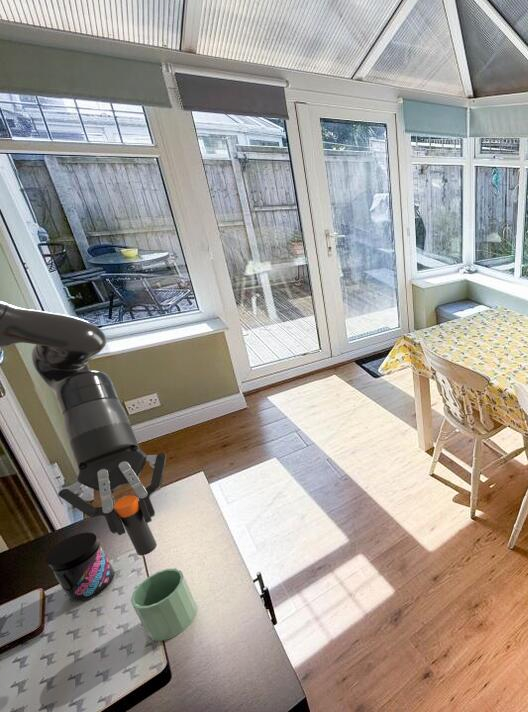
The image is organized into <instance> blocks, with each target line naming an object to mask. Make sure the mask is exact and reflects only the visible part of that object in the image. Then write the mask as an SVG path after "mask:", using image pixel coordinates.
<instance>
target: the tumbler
mask: <svg viewBox="0 0 528 712" xmlns="http://www.w3.org/2000/svg"><path fill="white" fill-rule="evenodd" d="M130 603H131V606H132V608H133V609H134V611H135V613H136V615H137V617H138V619H139V621H140V623H141V624H142V626H143V628H144V630H145V632H146V634H147V636H148V637H149V638H150V639H151V640H152V641H155V642H163V641H168V640H170V639H173V638H174V637H176V636H178V635H180V634H181V633H182V632H184V631H185V630H186V629H187V628H188V627H189V626H190V625H191V623H192V622H193V621H194V619H195V617H196V615H197V611H198V606H197V604H196V602H195V599H194V597H193V594H192V592H191V590H190V587H189V585H188V583H187V580H186V579H185V575H184V574H183V572H182V570H181V569H179V568H174V567H173V568H165V569H161V570H159V571H157V572H155V573H153V574H151V575H149V576H147V577H146V578H145V579H144V580H142V582H140V583H139V584H138V586H136V588H135V589H134V590H133V592H132V594H131V598H130Z"/></svg>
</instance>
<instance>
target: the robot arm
mask: <svg viewBox="0 0 528 712" xmlns="http://www.w3.org/2000/svg"><path fill="white" fill-rule="evenodd" d="M16 344H30V345H33V347H32V348H31V349H32V350H31V362H32V365H33V367H34V370H35V371H36V373H37V374H38V375H39V377H40V378H41V379H42V380H43V382H44V383H45V384H46V385H47V387H48V388H49V389H50V390H51V391H52V392H53V393H54V395H55V398H56V403H57V404H58V408H59V410H60V413H61V416H62V420H63V427H64V431H65V434H66V437H67V439H68V443H69V445H70V448H71V451H72V454H73V457H74V459H75V463H76V466H77V468H78V475H77V476H76V477H77V478H76V479H77V481H75V482H74V483H72V484H70V485H69V486H68V487H67V488H62V489H61V490H59V491H58V494H57V495H58V497H59V498H61V499H63V500H64V501H65V502H67V503H68V504H70V505H71V506H73V507H74V508H76V509H77V510H78V511H80V512H82V513H83V514H84V515H85V516H87V517H90V518H95V517H104V518H105V521H106V523H107V525H108V526H107V527H108V530H109V532H111V533H112V534H114V535H115V534H117V535H118V536H122V535H124V534H126V529H125V527H124V525H123V523H122V521H121V519H120V517H119V516H118V514H117V512H116V510H115V508H114V504H115V503H116V501H115V491H117V490H118V489H121V488H122V487H127V486H130V487H131V489H133V491H134V493H135V494H136V497H137V499H138V503H139V506H140V509H141V511H142V514H143V517H144V519H145V522H146V523H148V524H149V523H151V522H152V521H153V519H152V518H154V517H155V516H156V512H155V508H154V506H153V503H152V500H151V497H152V495H153V494H155V493H156V492H158V491H160V490H161V489H162V483H163V478H164V473H165V469H166V463H167V455H166V454H165V453H163V452H161V453H160V452H159V453H157V454H146V452H144V451H142V449H141V448H140V446H139V443H138V441H137V437H136V435H135V432H134V430H133V428H132V427H133V426H132V425H131V421H130V418H129V417H128V414H127V412H126V409H125V408H124V406H123V404H122V403H121V401H120V398H119V395H118V394H117V392H116V387H115V386H114V383H113V380H112V379H111V378H110V376H109V375H108V374H107V373H105V372H102V371H100V370H99V371H98V370H91V368H90V365H89V362H90V361H91V360H92V359H93V358H94V357H96V356H98V354H100V353H101V351H103V349H104V348H105V347H106V344H107V336H106V334H105V333H104V331H103V330H102V329H100V328H99V327H98V326H97V325H96V324H95V323H91V322H90V321H87V320H85V319H82V318H79V317H76V316H71V315H66V314H60V313H53V312H48V311H43V310H35V309H27V308H22V307H18V306H15V305H12V304H9V303H7V302H4V301H1V300H0V349H5V348H8V347H11V346H13V345H16ZM146 463H149V467H150V468H152V469H153V471H152V476H151V481H150V484H149V486H147V487H145V486H144V484H143V483H142V481H141V480H140V479H139V478H140V476H141V473H142V472H143V470H144V468H145V465H146ZM83 486H85V487H88V488H89V489H92V490H95V491H98V492H99V496H100V501H101V506H96V507H95V506H93V505H92V504H91V503H89V502H88V501H86V500H85V499H83V498H82V496H83V495H84V490H83V489H82V488H83Z"/></svg>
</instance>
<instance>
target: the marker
mask: <svg viewBox="0 0 528 712" xmlns="http://www.w3.org/2000/svg"><path fill="white" fill-rule="evenodd" d="M138 501H139V498H138V496H137V495H135V494H129V495H125V496H123V497H121V498H119V499H118V500H117V501H115V504H114V508H115V510H116V512H117V514H118V516H119V517H120V519H121V521H122V524H123V527H124V529H125V532H126V534H127V535H128V537H129V539H130V541H131V543H132V545H133V548H134V549H135V551H136V554H137V555H138V556H146V555H149V554H150V553H152V552H154V551H155V549H156V548H157V545H158V544H157V541H156V539H155V537H154V534H153V533H152V531H151V528H150V526H149V523H146V522H145V519H144V517H143V514H142V511H141V509H140V506H139V503H138Z"/></svg>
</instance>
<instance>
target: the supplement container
mask: <svg viewBox="0 0 528 712" xmlns="http://www.w3.org/2000/svg"><path fill="white" fill-rule="evenodd" d="M44 561H45V564H46V565H47V566H48V569H49V570H50V571H51V573H52V574H53V576H54V578H55V579H56V580H57V582H58V583H59V585H60V587H61V588H62V590H63V592H64V593H65V595H66V596H67V598H68V599H69V600H71V601H74V602H81V601H85V600H88V599H91V597H92V598H93V596H94V597H96V596H98V595H100V593H102V592H104V591H105V590H106V589H107V588H108V587H109V586H110V585H111V583H112V582H113V580H114V578H115V574H116V573H115V571H116V570H115V569H114V568H113V566H112V564H111V562H110V560H109V558H108V556H107V554H106V552H105V551H104V548H103V547H102V545H101V542H100V540H99V538H98V537H97V535H96V534H95V533H93V532H82V533H78V534H74V535H72V536H69V537H67V538H65V539H63V540H62V541H60V542H58V543H57V544H55V545H54V546H53V547H52V548H51V549H50V550H49V551H48V552H47V554H46V555H45V557H44ZM108 585H109V586H108ZM107 586H108V587H107ZM106 587H107V588H106ZM105 588H106V589H105ZM101 591H102V592H101ZM95 595H96V596H95Z"/></svg>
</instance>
